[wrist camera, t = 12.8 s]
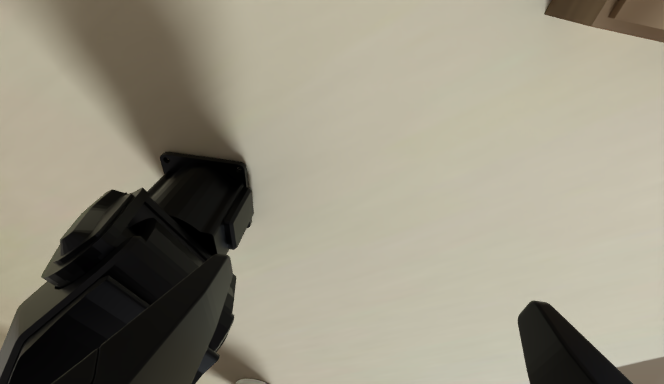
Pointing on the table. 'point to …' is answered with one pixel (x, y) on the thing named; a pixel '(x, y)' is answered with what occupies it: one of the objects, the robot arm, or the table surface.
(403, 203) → the table surface
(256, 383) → the foam cup
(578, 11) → the walnut box
